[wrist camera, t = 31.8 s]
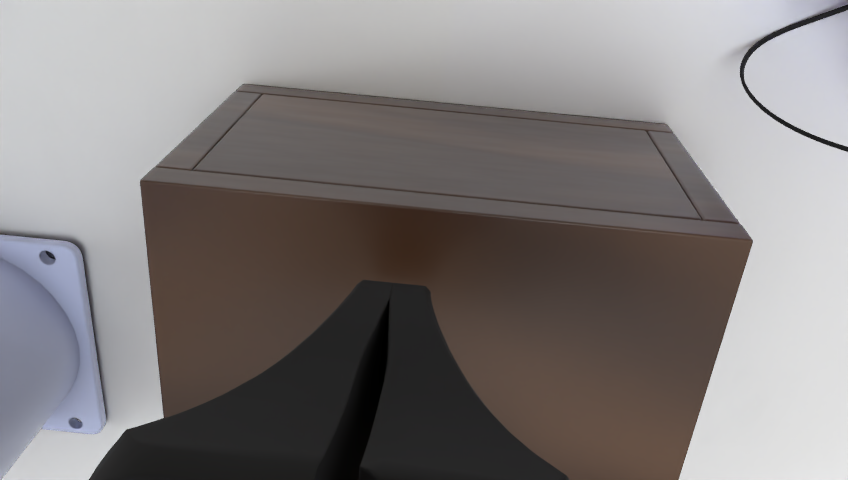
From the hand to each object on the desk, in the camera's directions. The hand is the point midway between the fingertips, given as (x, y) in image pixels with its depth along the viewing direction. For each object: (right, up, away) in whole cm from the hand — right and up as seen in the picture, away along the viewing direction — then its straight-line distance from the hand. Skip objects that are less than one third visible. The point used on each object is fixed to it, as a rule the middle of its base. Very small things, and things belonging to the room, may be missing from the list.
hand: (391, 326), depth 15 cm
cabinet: (+1, 0, +11) cm, 11 cm away
